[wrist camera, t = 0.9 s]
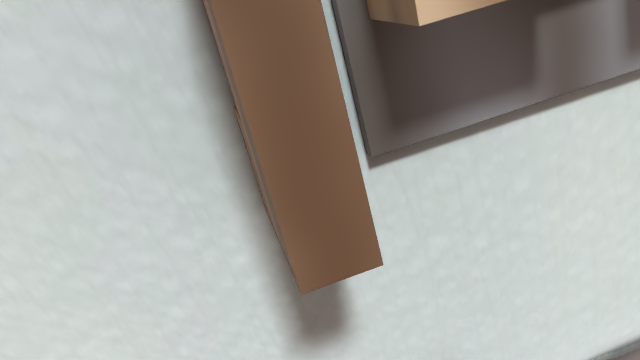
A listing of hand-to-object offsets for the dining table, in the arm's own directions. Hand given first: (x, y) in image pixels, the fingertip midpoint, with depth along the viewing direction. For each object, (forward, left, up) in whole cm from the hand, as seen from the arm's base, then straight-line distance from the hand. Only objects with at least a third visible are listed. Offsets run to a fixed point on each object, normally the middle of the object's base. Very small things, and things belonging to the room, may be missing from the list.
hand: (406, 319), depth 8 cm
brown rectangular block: (0, -3, -12) cm, 13 cm away
